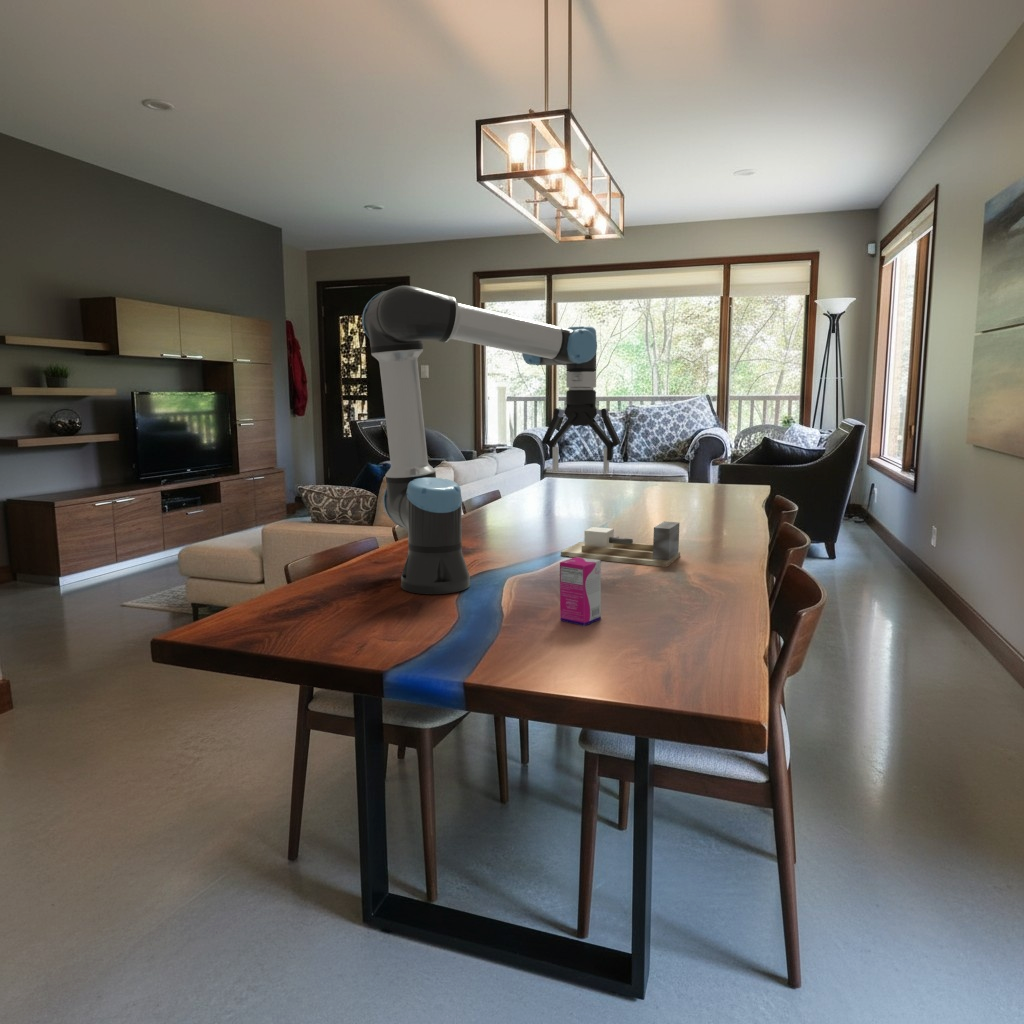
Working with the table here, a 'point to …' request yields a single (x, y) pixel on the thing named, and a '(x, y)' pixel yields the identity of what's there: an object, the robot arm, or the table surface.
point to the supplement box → (580, 591)
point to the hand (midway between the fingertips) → (580, 472)
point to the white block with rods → (603, 538)
